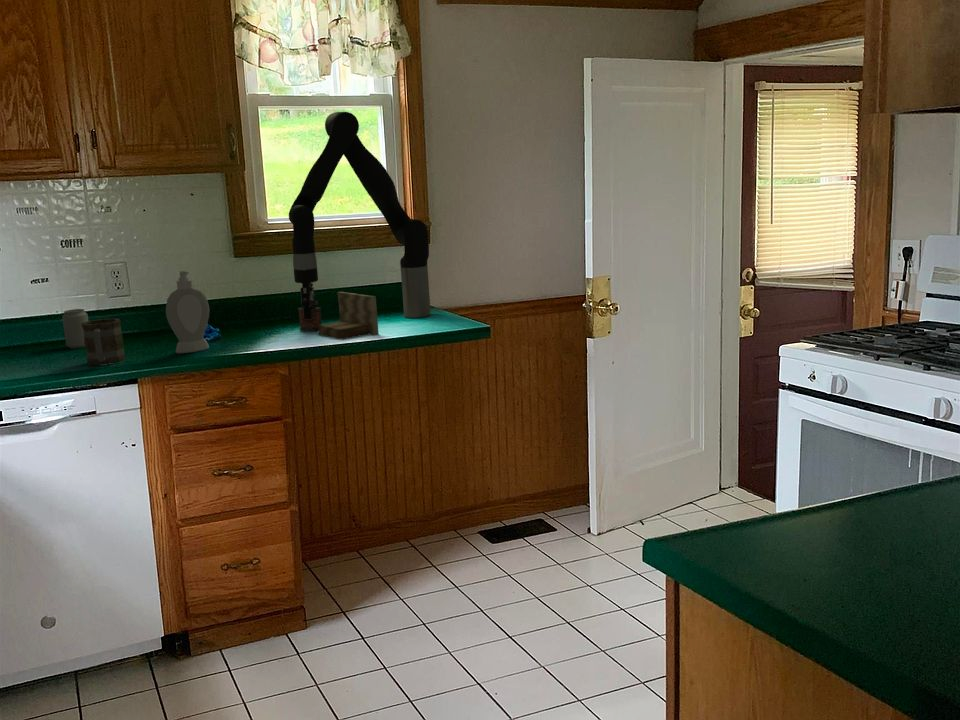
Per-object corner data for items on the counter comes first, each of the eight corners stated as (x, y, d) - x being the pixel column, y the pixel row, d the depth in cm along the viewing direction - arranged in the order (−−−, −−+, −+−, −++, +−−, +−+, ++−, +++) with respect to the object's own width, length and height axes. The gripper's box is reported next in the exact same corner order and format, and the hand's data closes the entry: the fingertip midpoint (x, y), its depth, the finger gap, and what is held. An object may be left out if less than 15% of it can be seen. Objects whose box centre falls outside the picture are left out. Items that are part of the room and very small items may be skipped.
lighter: (298, 331, 306) (295, 301, 303) (303, 329, 309) (300, 299, 307) (319, 331, 303) (316, 301, 300) (324, 329, 306) (322, 299, 304)
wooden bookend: (314, 333, 300) (310, 296, 297) (345, 327, 307) (341, 291, 304) (346, 340, 285) (343, 301, 282) (378, 334, 292) (375, 296, 289)
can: (67, 350, 295) (62, 312, 292) (65, 346, 301) (60, 310, 299) (93, 346, 298) (87, 309, 296) (90, 343, 305) (85, 307, 302)
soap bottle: (175, 356, 274) (165, 274, 269) (168, 352, 281) (158, 272, 276) (219, 349, 281) (209, 269, 276) (211, 346, 288) (201, 267, 282)
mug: (90, 360, 276) (84, 320, 274) (128, 356, 278) (123, 317, 276) (80, 371, 261) (74, 329, 258) (121, 367, 263) (115, 325, 261)
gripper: (296, 265, 308) (300, 314, 311) (291, 270, 294) (295, 321, 297) (318, 264, 308) (322, 313, 312) (315, 268, 294) (319, 319, 298)
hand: (309, 316), depth 304 cm, fingers open, 8 cm apart
